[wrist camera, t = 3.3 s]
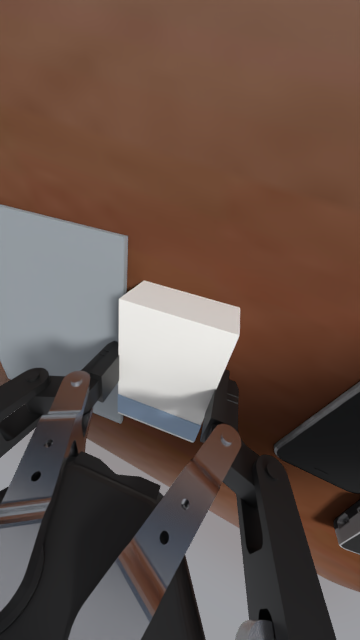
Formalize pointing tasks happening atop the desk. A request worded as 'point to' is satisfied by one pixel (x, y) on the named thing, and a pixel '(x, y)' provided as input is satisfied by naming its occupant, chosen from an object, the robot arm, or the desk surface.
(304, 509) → the desk surface
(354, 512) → the external hard drive
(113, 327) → the mat
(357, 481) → the smartphone
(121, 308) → the card box
